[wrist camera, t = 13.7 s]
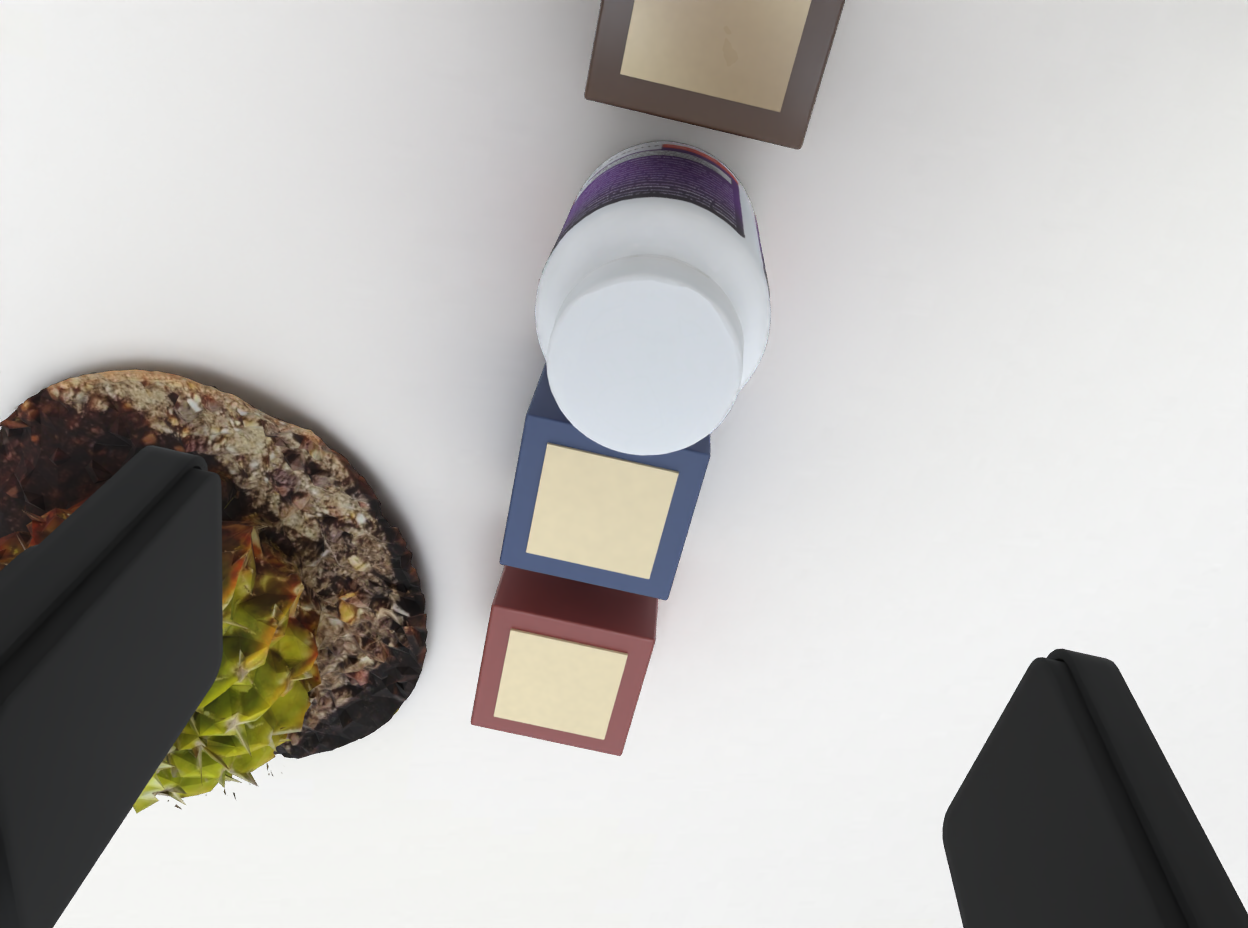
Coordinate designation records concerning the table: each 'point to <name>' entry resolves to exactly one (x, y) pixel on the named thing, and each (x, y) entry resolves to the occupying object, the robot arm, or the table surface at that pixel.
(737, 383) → the pill bottle
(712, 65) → the block
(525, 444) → the block
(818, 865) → the table surface
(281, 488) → the cactus
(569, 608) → the block
